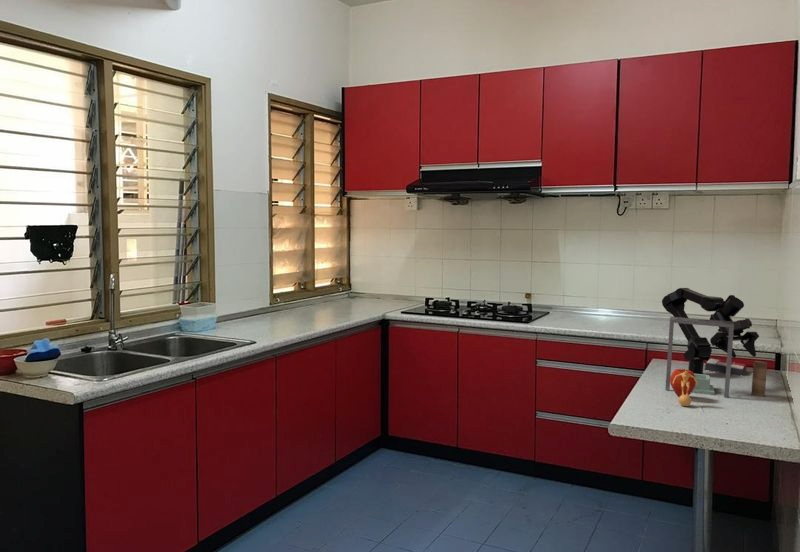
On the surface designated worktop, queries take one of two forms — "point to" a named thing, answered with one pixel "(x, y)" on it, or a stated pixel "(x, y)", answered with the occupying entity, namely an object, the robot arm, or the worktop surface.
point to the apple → (677, 382)
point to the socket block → (703, 384)
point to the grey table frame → (708, 323)
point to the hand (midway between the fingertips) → (745, 356)
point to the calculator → (721, 367)
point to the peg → (759, 378)
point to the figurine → (683, 399)
